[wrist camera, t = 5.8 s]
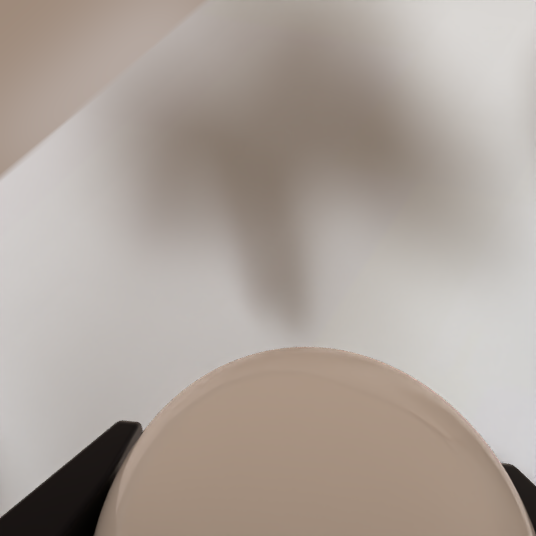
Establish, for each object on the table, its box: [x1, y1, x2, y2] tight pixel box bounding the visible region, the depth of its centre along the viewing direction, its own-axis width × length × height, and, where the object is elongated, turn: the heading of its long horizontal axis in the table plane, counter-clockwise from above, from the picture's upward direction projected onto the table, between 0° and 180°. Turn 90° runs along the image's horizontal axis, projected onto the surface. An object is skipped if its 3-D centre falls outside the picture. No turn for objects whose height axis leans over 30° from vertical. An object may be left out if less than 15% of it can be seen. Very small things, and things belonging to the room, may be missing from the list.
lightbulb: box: [94, 347, 536, 536], centre depth 9 cm, size 6×6×11 cm
